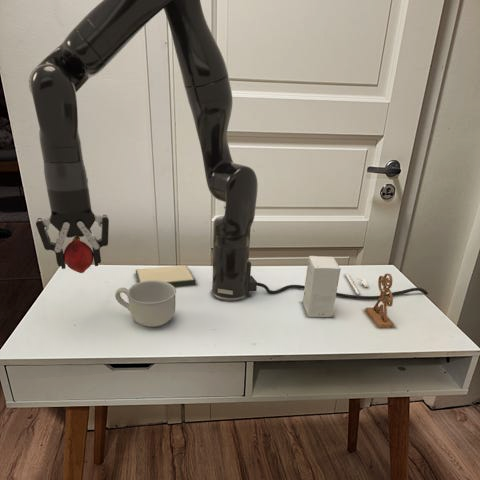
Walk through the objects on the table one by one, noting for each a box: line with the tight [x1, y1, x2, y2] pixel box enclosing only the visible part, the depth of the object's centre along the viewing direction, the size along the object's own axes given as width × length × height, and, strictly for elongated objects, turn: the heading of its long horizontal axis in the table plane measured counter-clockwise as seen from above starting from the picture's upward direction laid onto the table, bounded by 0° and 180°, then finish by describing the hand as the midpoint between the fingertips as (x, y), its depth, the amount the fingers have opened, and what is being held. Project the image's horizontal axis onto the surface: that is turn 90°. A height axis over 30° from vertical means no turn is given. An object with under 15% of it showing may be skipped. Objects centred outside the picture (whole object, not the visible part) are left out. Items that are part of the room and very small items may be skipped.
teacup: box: [114, 280, 177, 328], centre depth 99 cm, size 14×11×8 cm
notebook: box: [135, 264, 197, 288], centre depth 121 cm, size 15×11×2 cm
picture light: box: [345, 273, 369, 296], centre depth 124 cm, size 14×4×2 cm, turn 1°
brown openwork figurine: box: [364, 273, 395, 329], centre depth 104 cm, size 9×4×12 cm, turn 7°
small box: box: [302, 255, 341, 318], centre depth 106 cm, size 8×6×13 cm
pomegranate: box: [63, 236, 94, 274], centre depth 90 cm, size 6×6×8 cm
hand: (80, 265), depth 91 cm, fingers closed on pomegranate, 6 cm apart
